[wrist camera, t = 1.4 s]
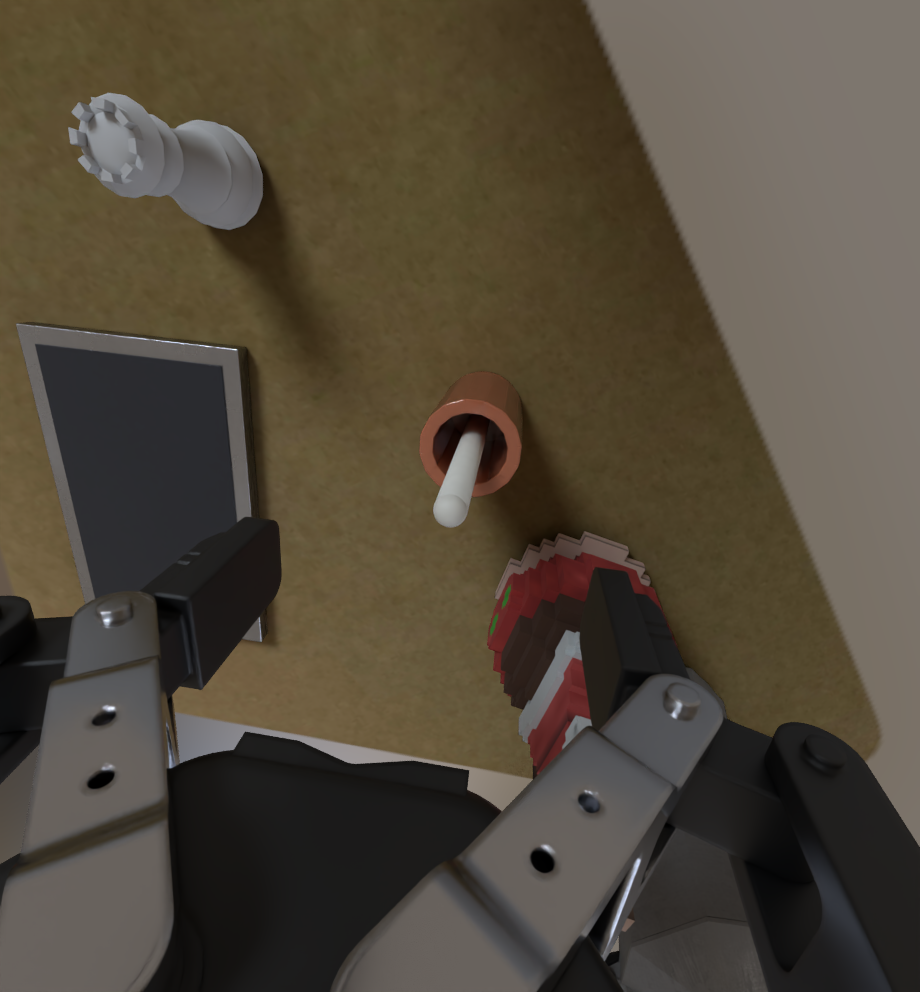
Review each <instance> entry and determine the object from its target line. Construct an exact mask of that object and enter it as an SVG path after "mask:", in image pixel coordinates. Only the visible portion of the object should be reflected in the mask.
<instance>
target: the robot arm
mask: <svg viewBox="0 0 920 992" xmlns="http://www.w3.org/2000/svg"><path fill="white" fill-rule="evenodd" d="M280 582H281V554H280V535H279V526H278V524H277V522H276V521H274V520H268V519H261V518H254V517H244V518H242V519H241V520H240V521H238V522H237V523H236V524H235V525H234V526H233V527H231V528H230V529H229V530H228V531H227V532H225V533H224V532H221V533H218V534H216V535H214V536H211V537H209V538H207V539H204V540H202V541H201V542H199V543H198V544H197V545H196V546H194V547H193V548H192V549H191V550H190V551H188V554H185V555H183V556H182V557H181V558H180V559H178V560H177V562H176V563H173V564H172V565H171V566H170V567H168V568H167V569H166V570H165V571H163V572H162V573H161V574H160V575H159V576H157V577H156V578H155V579H154V580H152V581H151V582H150V583H149V584H147V585H146V586H145V587H144V588H142V589H141V590H140V591H122V592H116V593H111V594H107V595H104V596H101V597H99V598H96V599H94V600H92V601H90V602H88V603H86V604H85V605H83V606H82V607H81V608H79V609H78V610H77V612H76V613H75V614H74V616H73V617H56V618H38V619H34V615H33V612H32V608H31V605H30V603H29V601H28V600H26V599H24V598H21V597H17V596H0V784H1V783H2V782H3V781H4V780H5V779H6V778H7V777H8V776H9V775H10V774H11V773H12V772H13V770H15V769H16V767H17V766H19V764H20V763H21V762H22V761H23V760H24V759H25V758H26V757H27V756H28V755H29V754H30V753H31V752H32V751H33V750H34V749H35V748H36V747H37V746H38V745H39V750H38V757H37V762H36V767H35V773H34V779H33V785H32V791H31V796H30V802H29V808H28V814H27V820H26V825H25V831H24V837H23V843H22V849H21V853H19V854H17V855H16V856H14V857H12V858H10V859H8V860H7V861H5V862H3V863H1V864H0V992H624V991H623V989H622V987H621V986H620V984H619V983H618V981H617V980H616V978H615V976H614V975H613V973H612V972H611V970H610V969H609V967H608V965H607V964H606V962H605V960H606V958H607V956H608V955H609V953H610V951H611V949H612V947H613V945H614V944H615V942H616V940H617V938H618V936H619V934H620V932H621V930H622V928H623V926H624V924H625V922H626V920H627V918H628V916H629V914H630V912H631V910H632V908H633V906H634V904H635V902H636V900H637V899H638V897H639V895H640V893H641V892H642V890H643V888H644V887H645V885H646V883H647V881H648V880H649V878H650V876H651V875H652V873H653V871H654V870H655V868H656V866H657V865H658V863H659V861H660V859H661V858H662V856H663V854H664V853H665V851H666V849H667V848H668V846H669V844H670V842H671V841H672V839H673V837H674V836H675V834H676V832H677V831H678V829H680V830H682V831H684V832H686V833H688V834H691V835H693V836H695V837H697V838H699V839H701V840H703V841H705V842H707V843H709V844H711V845H713V846H715V847H718V848H720V849H722V850H724V851H726V852H727V853H728V857H729V860H730V863H731V867H732V870H733V874H734V877H735V880H736V884H737V887H738V891H739V894H740V897H741V901H742V904H743V908H744V911H745V914H746V918H747V921H748V925H749V928H750V931H751V935H752V938H753V942H754V945H755V948H756V952H757V955H758V959H759V962H760V965H761V969H762V972H763V976H764V979H765V982H766V986H767V989H768V992H920V847H919V846H918V844H917V842H916V841H915V839H914V838H913V836H912V834H911V833H910V831H909V830H908V828H907V827H906V825H905V823H904V822H903V820H902V819H901V817H900V816H899V814H898V812H897V811H896V809H895V808H894V806H893V805H892V803H891V802H890V800H889V798H888V797H887V796H886V794H885V792H884V791H883V789H882V787H881V786H880V784H879V783H878V781H877V780H876V778H875V776H874V775H873V773H872V772H871V770H870V769H869V767H868V765H867V764H866V763H865V761H864V760H863V759H862V758H861V757H860V755H859V754H858V753H857V752H856V751H854V750H853V749H852V748H851V747H850V746H849V745H847V744H846V743H845V742H844V741H842V740H841V739H839V738H838V737H836V736H834V735H832V734H831V733H829V732H827V731H825V730H823V729H820V728H818V727H815V726H812V725H809V724H805V723H798V722H790V723H785V724H782V725H781V726H779V727H778V728H777V730H776V732H775V734H774V736H773V738H772V737H769V736H767V735H764V734H762V733H759V732H757V731H754V730H752V729H749V728H746V727H744V726H741V725H739V724H737V723H734V722H732V721H730V720H728V719H726V718H725V717H723V712H722V709H721V707H720V705H719V703H718V702H717V700H716V699H715V698H714V697H713V696H712V695H711V694H710V693H709V692H708V691H707V690H706V689H704V688H703V687H702V686H700V685H698V684H697V683H695V682H693V681H691V680H690V677H689V675H688V672H687V670H686V668H685V665H684V663H683V660H682V658H681V655H680V653H679V651H678V648H677V646H676V643H675V641H674V640H673V639H672V637H673V636H672V634H671V631H670V629H669V627H667V621H666V619H665V617H664V614H663V612H662V609H661V608H660V607H659V606H658V605H657V604H656V603H655V602H654V601H653V600H652V599H651V598H650V597H649V596H648V595H645V594H639V593H634V590H633V587H632V584H631V581H630V578H629V575H628V573H627V572H626V571H621V570H614V569H607V568H600V567H595V568H594V570H593V573H592V576H591V580H590V584H589V589H588V593H587V597H586V602H585V606H584V610H583V614H582V619H581V625H580V650H581V657H582V663H583V670H584V677H585V684H586V690H587V697H588V704H589V711H590V717H591V724H592V726H586V727H585V728H583V729H582V730H581V731H580V732H579V733H578V734H577V735H576V736H575V737H574V738H573V739H572V740H571V741H570V742H569V743H568V744H567V745H566V746H565V747H564V748H563V750H562V751H561V752H560V753H559V754H558V755H557V756H556V757H555V758H554V759H553V760H552V761H551V762H550V763H549V764H548V765H547V766H546V767H545V768H544V769H543V770H542V771H541V772H540V773H539V774H538V775H537V776H536V777H535V778H534V779H533V780H532V781H531V782H530V783H529V785H527V787H526V788H525V789H524V790H523V791H522V792H521V793H520V794H519V795H518V796H517V797H516V798H515V799H514V800H513V801H512V802H511V803H510V804H509V805H508V806H507V807H506V808H505V809H504V810H503V811H501V810H499V809H498V808H497V807H495V806H494V805H493V804H492V803H490V802H489V801H487V800H486V799H484V798H482V797H481V796H479V795H477V794H475V793H473V792H470V791H468V790H467V786H468V777H469V770H463V769H458V768H452V767H446V766H441V765H435V764H429V763H423V762H418V761H400V762H383V763H365V764H351V763H347V762H344V761H342V760H340V759H338V758H335V757H333V756H331V755H329V754H327V753H324V752H322V751H320V750H318V749H316V748H313V747H311V746H309V745H307V744H305V743H302V742H300V741H297V740H290V739H285V738H279V737H273V736H267V735H262V734H256V733H250V732H245V733H244V735H243V736H242V738H241V739H240V741H239V743H238V744H237V746H236V747H235V749H234V750H230V751H222V752H217V753H211V754H207V755H203V756H200V757H197V758H194V759H191V760H188V761H185V762H183V763H180V760H179V750H178V742H177V741H178V740H177V731H176V721H175V711H174V703H173V697H172V694H173V693H174V692H175V691H176V690H177V689H178V687H179V686H182V687H188V688H194V689H199V690H202V689H203V687H204V686H205V685H206V684H207V682H208V681H209V680H210V679H211V677H212V676H213V675H214V674H215V672H216V671H217V670H218V668H219V667H220V666H221V665H222V663H223V662H224V661H225V660H226V658H227V657H228V656H229V655H230V653H231V652H232V651H233V649H234V648H235V647H236V646H237V644H238V643H239V642H240V641H241V639H242V638H243V637H244V636H245V634H246V633H247V632H248V630H249V629H250V628H251V627H252V625H253V624H254V623H255V622H256V620H257V619H258V618H259V617H260V615H261V614H262V613H263V611H264V610H265V609H266V608H267V606H268V605H269V604H270V603H271V601H272V600H273V599H274V597H275V596H276V594H277V592H278V589H279V586H280Z"/></svg>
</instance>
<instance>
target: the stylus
mask: <svg viewBox="0 0 920 992" xmlns="http://www.w3.org/2000/svg"><path fill="white" fill-rule="evenodd" d="M489 423H490V419H488V418H486V417H484V416H483V415H478V414H470V417H469V419H468V422H467V424H466V427H465V429H464V432H463V434H462V437H461V439H460V442H459V444H458V446H457V449H456V451H455V454H454V456H453V459H452V461H451V464H450V466H449V469H448V471H447V474H446V476H445V479H444V481H443V484H442V486H441V489H440V491H439V494H438V496H437V499H436V501H435V504H434V508H433V513H434V516H435V519H436V520H437V521H438V522H439V523H440V524H441V525H443V526H446V527H455V526H458V525H460V524H461V523H462V522H463V521H464V520H465V518H466V516H467V512H468V508H469V504H470V500H471V496H472V492H473V488H474V484H475V480H476V476H477V472H478V468H479V464H480V460H481V456H482V452H483V448H484V444H485V440H486V436H487V432H488V427H489Z"/></svg>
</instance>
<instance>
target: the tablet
mask: <svg viewBox="0 0 920 992" xmlns="http://www.w3.org/2000/svg"><path fill="white" fill-rule="evenodd" d="M16 326H17V330H18V334H19V338H20V342H21V347H22V351H23V355H24V359H25V363H26V367H27V371H28V375H29V379H30V383H31V387H32V391H33V395H34V399H35V403H36V407H37V411H38V415H39V419H40V423H41V427H42V431H43V435H44V439H45V443H46V447H47V451H48V455H49V459H50V463H51V467H52V472H53V476H54V480H55V484H56V488H57V492H58V496H59V500H60V504H61V508H62V512H63V516H64V520H65V524H66V528H67V532H68V536H69V540H70V544H71V548H72V552H73V556H74V560H75V564H76V568H77V572H78V576H79V580H80V584H81V588H82V592H83V596H84V601H85V604H86V603H88V602H90V601H92V600H94V599H96V598H99V597H101V596H104V595H107V594H111V593H116V592H122V591H140V590H141V589H142V588H144V587H145V586H146V585H147V584H149V583H150V582H151V581H152V580H154V579H155V578H156V577H157V576H159V575H160V574H161V573H162V572H163V571H165V570H166V569H167V568H168V567H170V566H171V565H172V564H173V563H176V562H177V560H178V559H180V558H181V557H182V556H183V555H185V554H188V551H190V550H191V549H192V548H193V547H194V546H196V545H197V544H198V543H199V542H201V541H202V540H204V539H207V538H209V537H211V536H214V535H216V534H218V533H221V532H224V533H225V532H227V531H228V530H229V529H230V528H231V527H233V526H234V525H235V524H236V523H237V522H238V521H240V520H241V519H242V518H244V517H254V518H259V509H258V496H257V482H256V469H255V455H254V442H253V428H252V415H251V401H250V388H249V374H248V361H247V348H246V347H240V346H232V345H223V344H215V343H206V342H198V341H189V340H181V339H172V338H163V337H155V336H146V335H138V334H129V333H121V332H112V331H104V330H95V329H87V328H78V327H69V326H61V325H52V324H44V323H35V322H26V323H17V324H16ZM267 634H268V630H267V617H266V609H265V610H264V611H263V613H262V614H261V615H260V617H259V618H258V619H257V620H256V622H255V623H254V624H253V625H252V627H251V628H250V629H249V630H248V632H247V633H246V634H245V636H244V637H243V638H242V639H245V640H251V641H258V642H262V641H263V639H264V638H265V636H266V635H267Z"/></svg>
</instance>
